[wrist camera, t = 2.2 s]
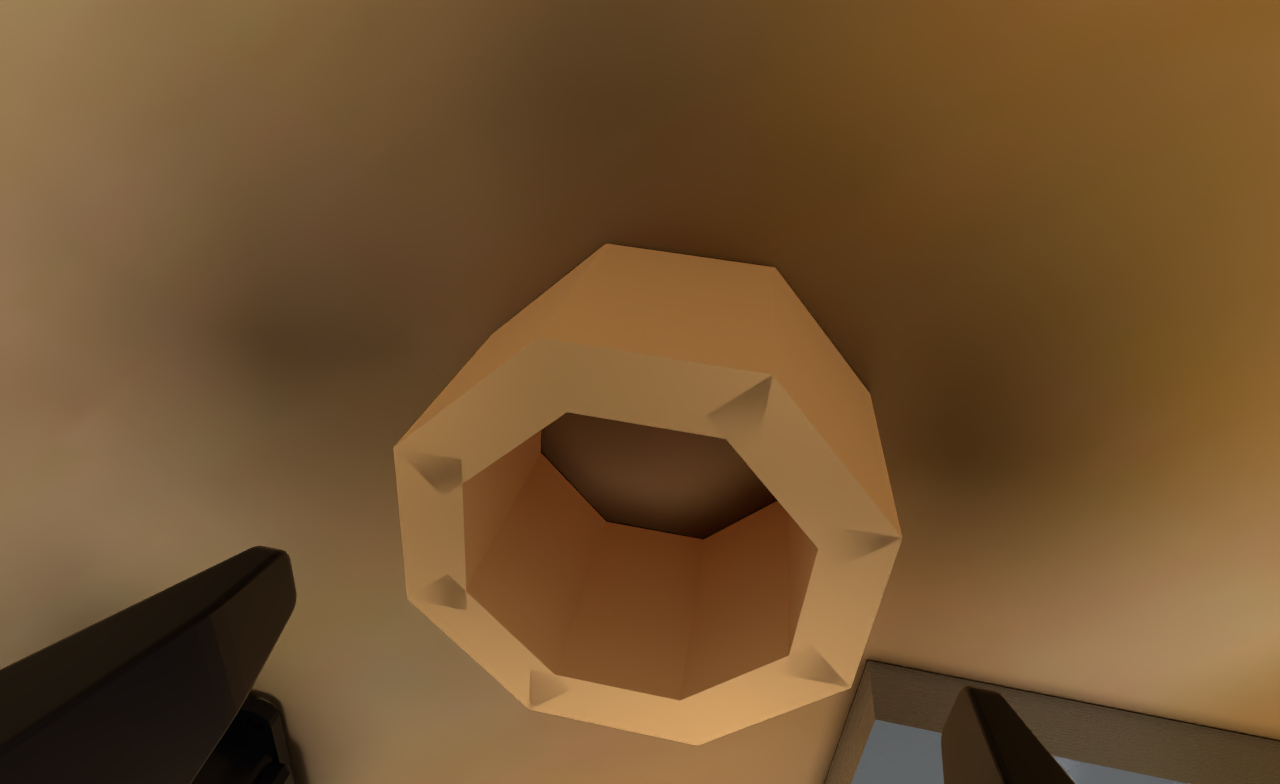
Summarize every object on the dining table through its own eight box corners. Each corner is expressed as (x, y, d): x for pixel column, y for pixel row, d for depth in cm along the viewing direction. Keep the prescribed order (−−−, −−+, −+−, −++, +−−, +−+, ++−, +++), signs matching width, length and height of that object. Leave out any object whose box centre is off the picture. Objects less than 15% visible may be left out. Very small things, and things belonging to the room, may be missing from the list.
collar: (494, 537, 16) (414, 685, 13) (490, 227, 13) (381, 312, 9) (813, 597, 15) (821, 772, 12) (900, 285, 12) (949, 402, 8)
